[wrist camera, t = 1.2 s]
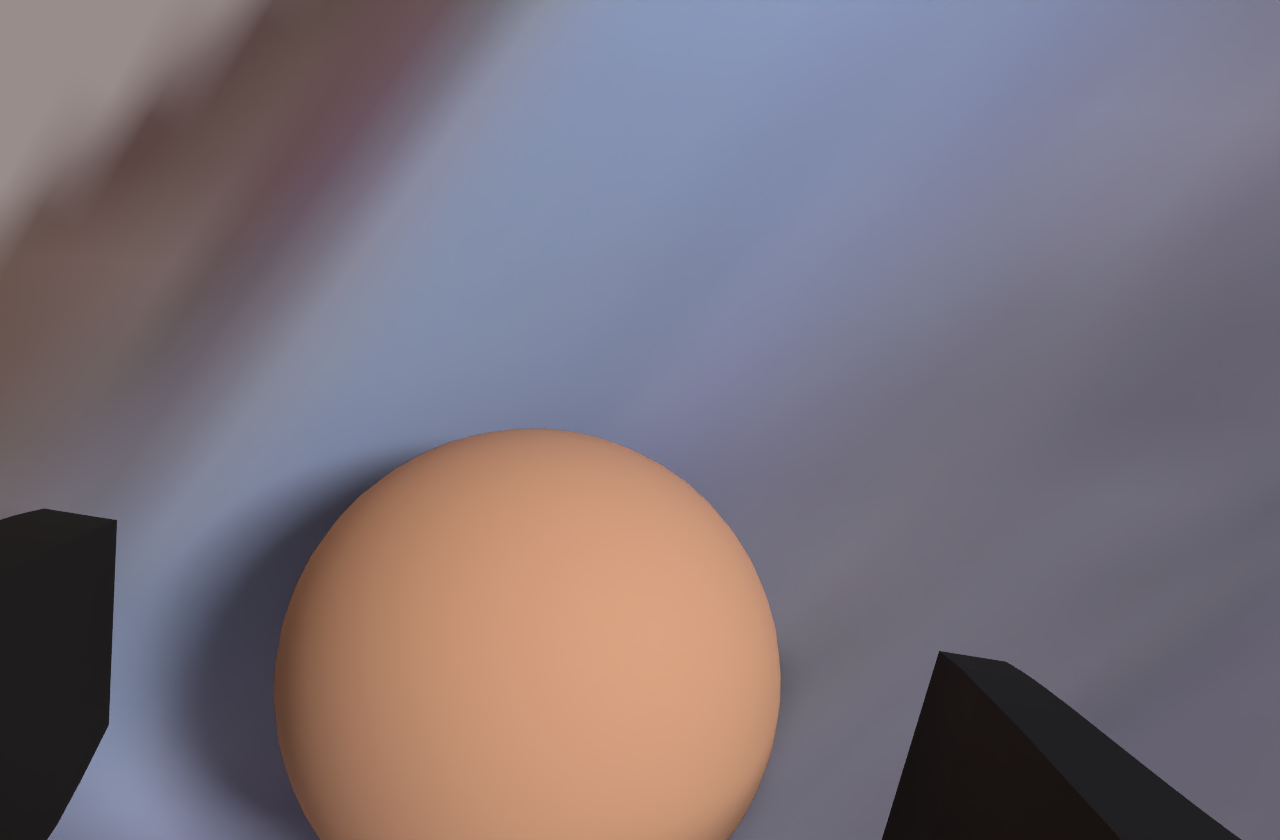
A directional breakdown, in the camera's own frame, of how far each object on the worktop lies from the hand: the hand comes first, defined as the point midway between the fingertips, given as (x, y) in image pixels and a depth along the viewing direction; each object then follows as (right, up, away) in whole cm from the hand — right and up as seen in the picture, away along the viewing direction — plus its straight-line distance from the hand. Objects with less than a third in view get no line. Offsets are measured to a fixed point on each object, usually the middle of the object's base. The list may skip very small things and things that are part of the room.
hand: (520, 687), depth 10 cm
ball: (0, +1, +2) cm, 2 cm away
